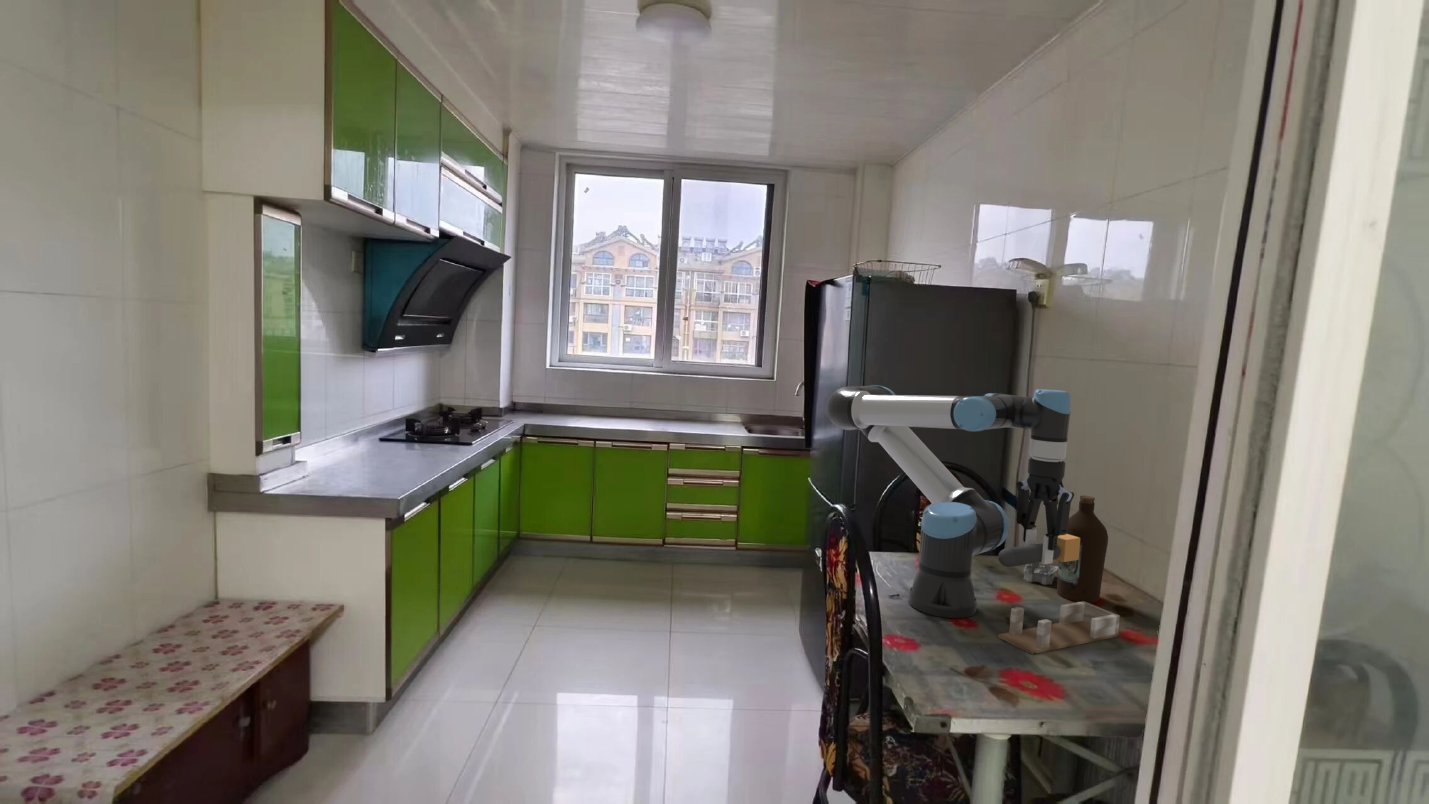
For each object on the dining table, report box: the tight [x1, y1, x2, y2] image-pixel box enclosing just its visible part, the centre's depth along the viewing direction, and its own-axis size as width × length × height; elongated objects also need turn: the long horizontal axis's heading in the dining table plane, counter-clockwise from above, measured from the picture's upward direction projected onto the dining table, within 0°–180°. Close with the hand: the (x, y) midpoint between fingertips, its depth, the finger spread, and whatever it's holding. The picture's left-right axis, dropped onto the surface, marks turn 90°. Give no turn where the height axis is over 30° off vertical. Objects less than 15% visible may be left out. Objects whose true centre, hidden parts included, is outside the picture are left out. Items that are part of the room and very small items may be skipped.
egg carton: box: [1023, 562, 1058, 586], centre depth 191 cm, size 11×8×4 cm
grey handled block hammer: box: [997, 534, 1080, 568], centre depth 164 cm, size 22×5×5 cm, turn 117°
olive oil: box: [1056, 495, 1109, 604], centre depth 177 cm, size 11×11×25 cm
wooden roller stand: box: [997, 601, 1120, 655], centre depth 153 cm, size 26×9×6 cm, turn 115°
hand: (1038, 560), depth 164 cm, fingers closed on grey handled block hammer, 4 cm apart
